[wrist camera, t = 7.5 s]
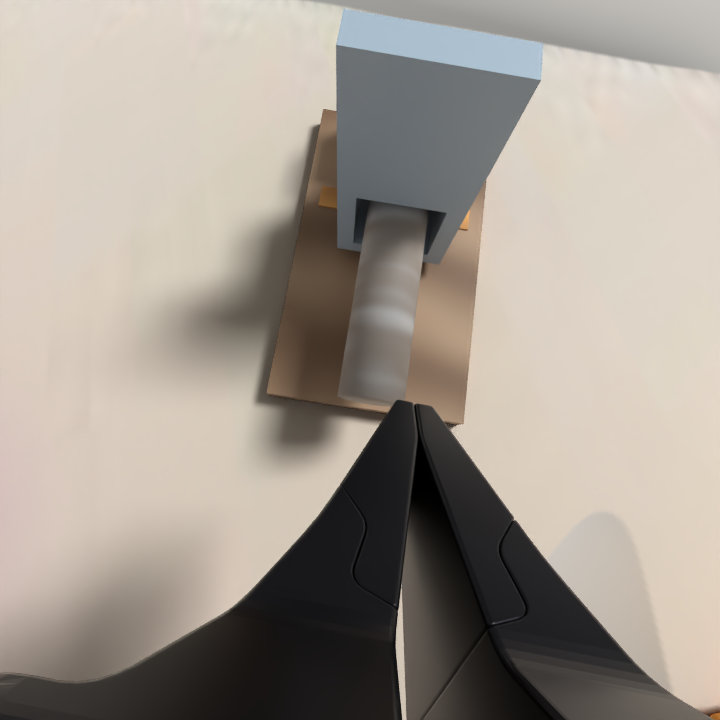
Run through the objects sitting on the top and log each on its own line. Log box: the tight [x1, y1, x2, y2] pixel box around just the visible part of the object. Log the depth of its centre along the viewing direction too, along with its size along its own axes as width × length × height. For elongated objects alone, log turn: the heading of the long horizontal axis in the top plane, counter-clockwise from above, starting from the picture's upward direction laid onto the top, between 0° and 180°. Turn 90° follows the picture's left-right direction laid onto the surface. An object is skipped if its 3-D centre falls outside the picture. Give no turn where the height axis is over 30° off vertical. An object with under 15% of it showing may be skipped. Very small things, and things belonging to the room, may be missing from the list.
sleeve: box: [336, 9, 543, 265], centre depth 16 cm, size 3×5×11 cm, turn 81°
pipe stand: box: [266, 109, 486, 425], centre depth 20 cm, size 17×10×6 cm, turn 171°
